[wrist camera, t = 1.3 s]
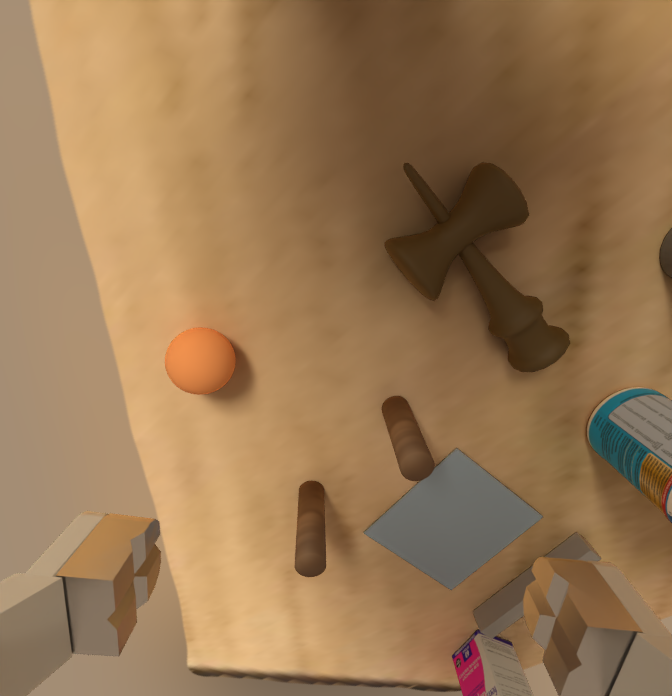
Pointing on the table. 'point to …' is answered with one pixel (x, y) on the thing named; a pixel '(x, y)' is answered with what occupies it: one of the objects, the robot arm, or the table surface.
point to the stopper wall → (510, 599)
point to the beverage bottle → (637, 441)
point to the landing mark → (453, 521)
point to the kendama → (480, 262)
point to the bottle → (667, 254)
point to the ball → (200, 361)
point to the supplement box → (490, 668)
